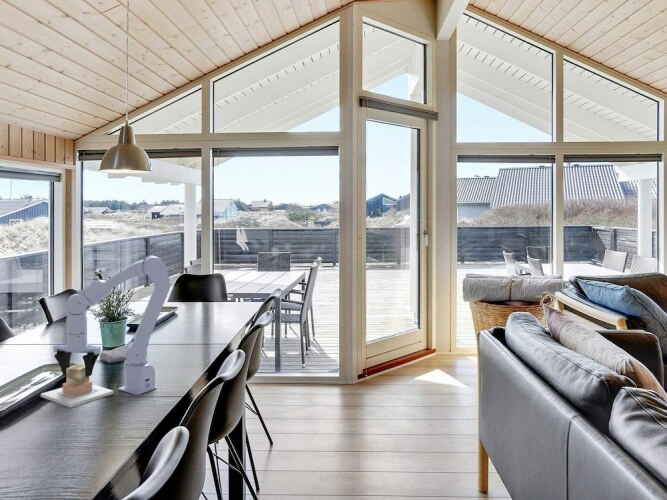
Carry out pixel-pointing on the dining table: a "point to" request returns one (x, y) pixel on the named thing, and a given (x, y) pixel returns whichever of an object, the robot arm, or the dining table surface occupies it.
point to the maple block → (76, 375)
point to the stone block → (114, 355)
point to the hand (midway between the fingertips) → (77, 375)
